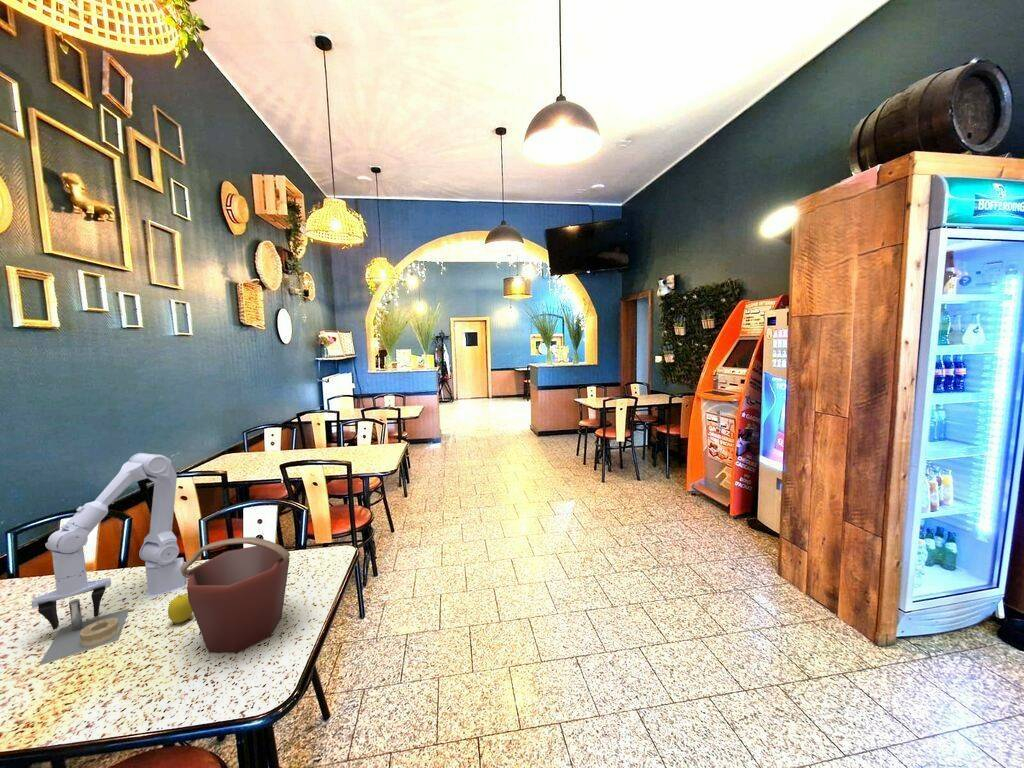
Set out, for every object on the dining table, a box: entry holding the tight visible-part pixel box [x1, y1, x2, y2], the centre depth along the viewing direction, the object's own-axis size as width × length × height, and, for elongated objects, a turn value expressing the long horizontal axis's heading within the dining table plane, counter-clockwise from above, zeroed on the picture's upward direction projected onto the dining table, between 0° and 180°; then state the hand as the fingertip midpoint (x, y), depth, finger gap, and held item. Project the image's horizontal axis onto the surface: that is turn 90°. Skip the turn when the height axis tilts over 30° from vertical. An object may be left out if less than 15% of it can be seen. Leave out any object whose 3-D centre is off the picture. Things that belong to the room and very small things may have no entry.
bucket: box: [181, 536, 291, 654], centre depth 109 cm, size 24×22×25 cm
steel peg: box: [68, 598, 84, 631], centre depth 111 cm, size 2×2×8 cm
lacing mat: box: [38, 607, 130, 666], centre depth 109 cm, size 14×17×1 cm
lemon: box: [167, 594, 193, 624], centre depth 114 cm, size 6×6×8 cm
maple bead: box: [80, 618, 120, 647], centre depth 108 cm, size 7×7×3 cm
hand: (76, 621), depth 112 cm, fingers open, 7 cm apart
